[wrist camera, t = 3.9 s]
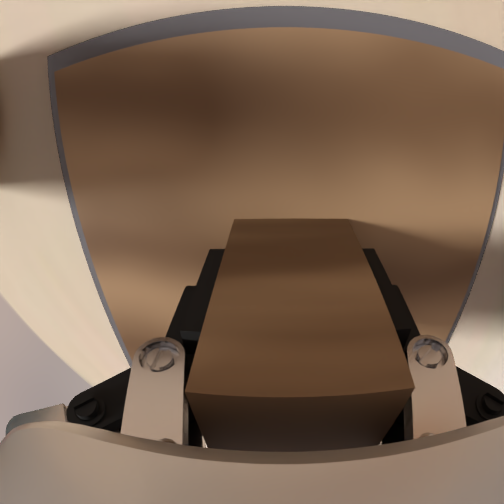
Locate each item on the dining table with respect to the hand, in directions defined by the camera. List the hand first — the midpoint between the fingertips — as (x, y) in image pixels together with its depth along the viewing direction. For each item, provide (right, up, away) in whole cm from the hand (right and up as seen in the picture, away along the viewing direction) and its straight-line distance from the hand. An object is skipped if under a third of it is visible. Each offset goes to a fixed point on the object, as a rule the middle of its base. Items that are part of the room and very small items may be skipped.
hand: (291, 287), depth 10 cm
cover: (0, +1, +2) cm, 2 cm away
